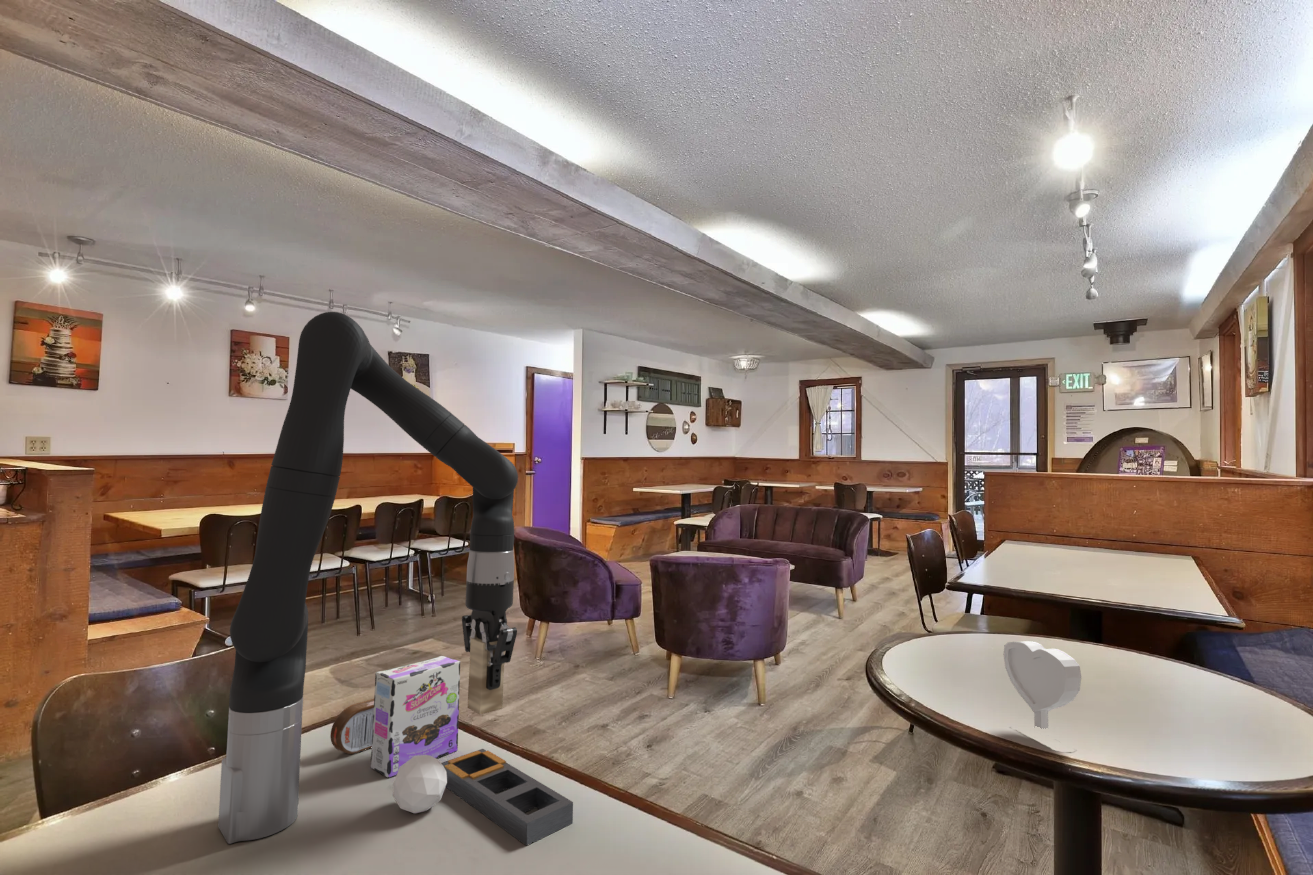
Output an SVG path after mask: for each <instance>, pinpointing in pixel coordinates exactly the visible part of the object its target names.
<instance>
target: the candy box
mask: <svg viewBox="0 0 1313 875" xmlns="http://www.w3.org/2000/svg"><path fill="white" fill-rule="evenodd" d="M374 675H375V676H374V678H375V679H374V698H373V699H374V715H373V733H372V734H373V735H372V748H371V753H370V755H371V756H370V769H373V771H376V772H377V773H379V774H381V775H383V777H386V778H388V777H389V778H392V777H394V776H396V775H397V773H398V770H399V768H400V766H402V765H403V764H404V763H406V762H407V761H408V760H410V759H411V758H412V757H414V756H419V755H429V756H432V757H434V758H436V759H439V758H442V757H445V756H447V755H450V754H452V753H454V752H457V751H458V748H459V747H458V746H459V745H458V744H459V718H460V717H459V716H460V715H459V714H460V712H459V710H460V684H461V683H460V682H461V681H460V680H461V660H457V659H454V658H451V657H448V656H444V655H439V656H437V657H434V658H431V659H427V660H422V661H418V662H414V663H410V664H406V665H402V666H398V667H394V668H390V669H387V670H379V671H375V674H374Z"/></svg>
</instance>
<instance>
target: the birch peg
mask: <svg viewBox="0 0 1313 875" xmlns="http://www.w3.org/2000/svg"><path fill="white" fill-rule="evenodd" d="M489 643H490V645H495V644H497V641H495V642H489ZM484 647H485V643H483V642H482V640H481V639H478V638H477V639H473V638H471V643H470V652H469V665H468V666H469V667H468V668H469V669H468V670H469V671H468V688H467V690H468V692H467V709H469V710H471V711H473V712H474V713H476V714H477V715H479V716H480V715H484V714H487V713H492V712H496V711H499V710H502V709H503V703H504V702H503V701H504V680H505V675H504V674H505V663H503V664H502V665H501V682H500V687H499V688H497V689H493V690H489V689H487V688H486V678H487V666H488V664H487V651H485V649H484ZM494 654H495V650H493V657H494ZM504 655H505V651H504Z"/></svg>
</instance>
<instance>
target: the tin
mask: <svg viewBox="0 0 1313 875" xmlns="http://www.w3.org/2000/svg"><path fill="white" fill-rule="evenodd" d="M373 715H374V698H371V699H367V700H364V701H360V702H357V703H353V704H351V705H349V706H347V707H346V708H344V709H343V710H342V711H341V712H340V713H339V714H338V716H336V718H335V720H334V721H333V724H332V726H331V729H330V736H329V738H330V741H331V744H332V746H333V747H334V748H335V749H336V750H338V751H341V752H342V753H344V754H347V755H355V754H354V753H356V754H358V752H359V753H361V752H360V751H362V752H364V751H363V750H365V749H367V750H369V749H368V748H370V749H372V748H371V747H372V735H373V734H372V733H373ZM365 751H366V750H365Z"/></svg>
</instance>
